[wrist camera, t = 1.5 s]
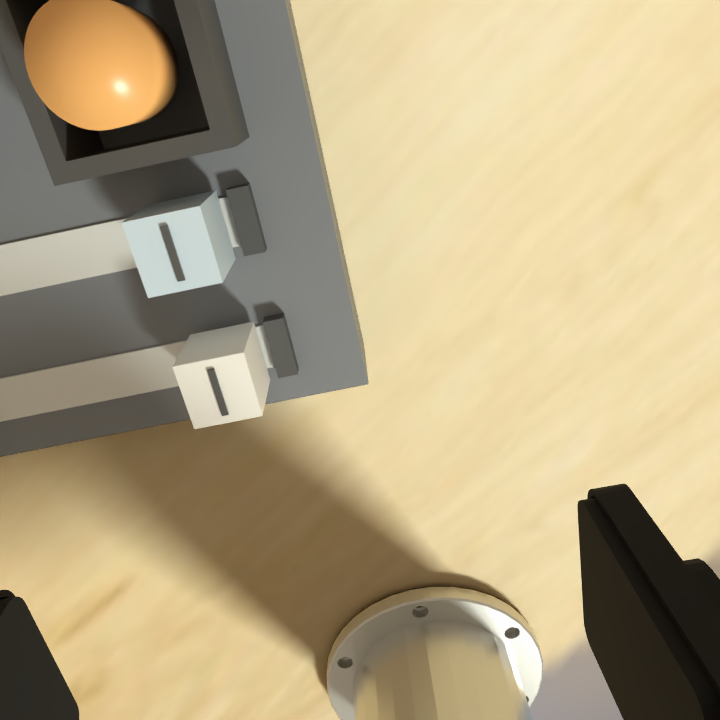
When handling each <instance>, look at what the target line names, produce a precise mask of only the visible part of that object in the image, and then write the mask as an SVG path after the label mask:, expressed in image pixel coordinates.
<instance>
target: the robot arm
mask: <svg viewBox="0 0 720 720" xmlns="http://www.w3.org/2000/svg"><path fill="white" fill-rule="evenodd" d="M578 523H579V541H580V559H581V577H582V595H583V613H584V626H585V631H586V635H587V638H588V641H589V644H590V647H591V649H592V651H593V653H594V656H595V658H596V660H597V662H598V664H599V667H600V669H601V671H602V673H603V675H604V677H605V680H606V682H607V684H608V686H609V689H610V691H611V693H612V695H613V697H614V699H615V702H616V704H617V706H618V708H619V710H620V713H621V715H622V717H623V719H624V720H720V579H719V578H718V577H717V575H716V574H715V573H714V572H713V570H712V569H711V568H710V567H709V566H708V565H707V564H706V563H705V562H704V561H702V560H700V559H692V560H686V561H682V559H681V558H680V556H679V555H678V554H677V552H676V551H675V550H674V548H673V547H672V545H671V544H670V543H669V541H668V540H667V539H666V537H665V536H664V535H663V533H662V532H661V530H660V529H659V528H658V526H657V525H656V524H655V522H654V521H653V519H652V518H651V517H650V515H649V514H648V513H647V511H646V510H645V508H644V507H643V506H642V504H641V503H640V502H639V500H638V499H637V498H636V496H635V495H634V493H633V492H632V491H631V489H630V488H629V487H628V486H627V485H626V484H619V485H613V486H607V487H601V488H596V489H590V490H589V492H588V499H586V500H580V501H578ZM542 677H543V660H542V656H541V652H540V648H539V645H538V643H537V640H536V638H535V635H534V633H533V631H532V629H531V627H530V626H529V625H528V623H527V622H526V620H525V619H524V618H523V616H521V615H520V614H519V613H518V612H517V611H516V610H514V609H513V608H512V607H511V606H510V605H508V604H506V603H504V602H503V601H501V600H499V599H497V598H495V597H493V596H490V595H487V594H484V593H481V592H478V591H475V590H470V589H464V588H457V587H428V588H421V589H414V590H409V591H406V592H402V593H399V594H396V595H392V596H389V597H387V598H385V599H383V600H381V601H379V602H377V603H375V604H373V605H371V606H369V607H368V608H367V609H365V610H364V611H362V612H361V613H359V614H358V615H356V616H355V617H354V618H353V619H352V620H351V621H350V622H349V623H348V624H347V625H346V626H345V627H344V628H343V629H342V631H341V632H340V634H339V636H338V637H337V639H336V640H335V642H334V643H333V646H332V649H331V651H330V654H329V657H328V664H327V693H328V696H329V699H330V702H331V705H332V707H333V709H334V710H335V712H336V714H337V715H338V717H339V719H340V720H533V718H532V715H531V712H530V709H529V707H530V706H531V704H532V702H533V700H534V699H535V697H536V695H537V693H538V691H539V688H540V684H541V681H542ZM0 720H79V710H78V706H77V703H76V701H75V699H74V697H73V695H72V693H71V692H70V690H69V688H68V686H67V684H66V682H65V680H64V678H63V676H62V674H61V672H60V670H59V668H58V666H57V664H56V662H55V660H54V658H53V656H52V654H51V652H50V650H49V648H48V646H47V644H46V642H45V641H44V639H43V637H42V635H41V633H40V631H39V629H38V627H37V625H36V623H35V621H34V619H33V617H32V615H31V613H30V611H29V609H28V607H27V605H26V603H25V602H24V600H23V599H22V598H20V597H15V596H14V594H13V593H12V592H10V591H9V590H0Z"/></svg>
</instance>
